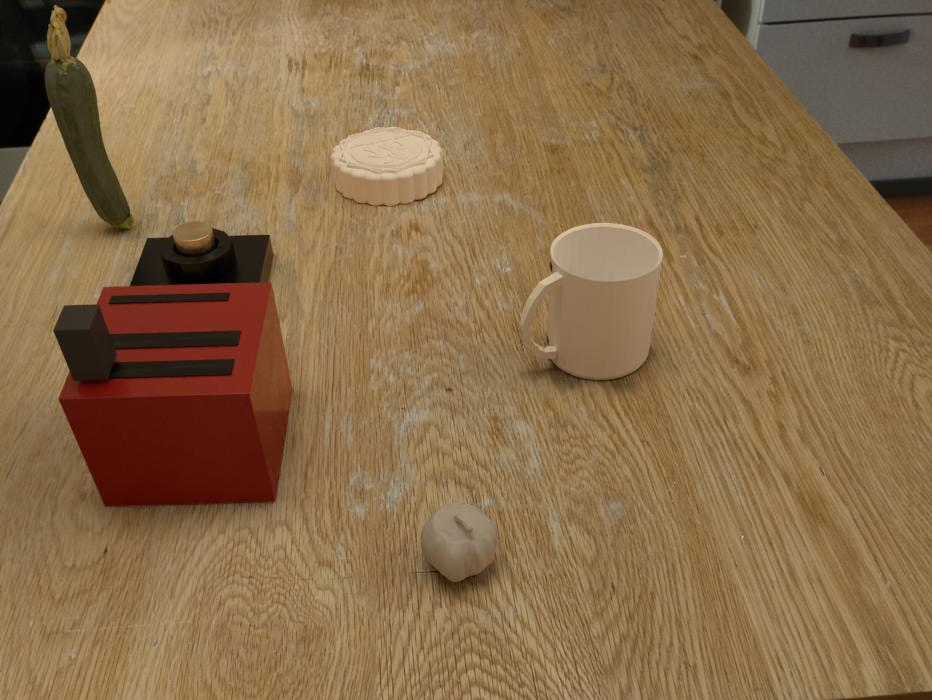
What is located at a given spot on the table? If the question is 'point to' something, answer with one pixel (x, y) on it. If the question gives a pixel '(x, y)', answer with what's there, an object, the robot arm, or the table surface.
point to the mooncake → (387, 166)
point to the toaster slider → (85, 342)
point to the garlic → (459, 541)
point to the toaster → (186, 396)
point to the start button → (194, 239)
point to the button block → (206, 262)
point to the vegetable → (82, 125)
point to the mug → (597, 301)
